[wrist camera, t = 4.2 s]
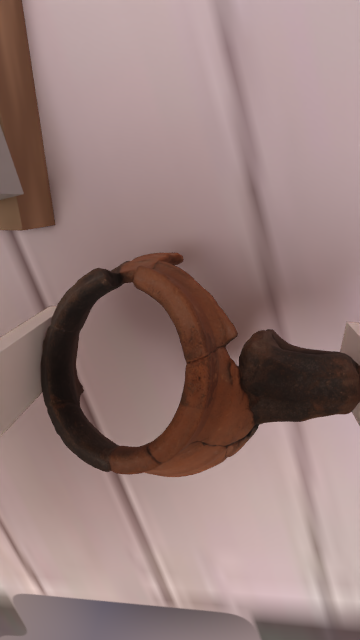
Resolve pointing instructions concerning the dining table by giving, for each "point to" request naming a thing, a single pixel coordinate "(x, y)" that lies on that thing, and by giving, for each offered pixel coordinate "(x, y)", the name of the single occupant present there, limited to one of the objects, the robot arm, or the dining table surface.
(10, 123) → the base slab
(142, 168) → the dining table surface
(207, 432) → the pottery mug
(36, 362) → the robot arm
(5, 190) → the top slab
